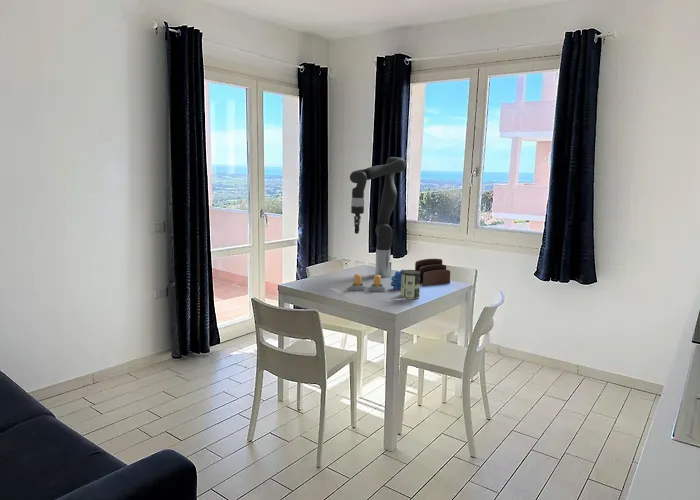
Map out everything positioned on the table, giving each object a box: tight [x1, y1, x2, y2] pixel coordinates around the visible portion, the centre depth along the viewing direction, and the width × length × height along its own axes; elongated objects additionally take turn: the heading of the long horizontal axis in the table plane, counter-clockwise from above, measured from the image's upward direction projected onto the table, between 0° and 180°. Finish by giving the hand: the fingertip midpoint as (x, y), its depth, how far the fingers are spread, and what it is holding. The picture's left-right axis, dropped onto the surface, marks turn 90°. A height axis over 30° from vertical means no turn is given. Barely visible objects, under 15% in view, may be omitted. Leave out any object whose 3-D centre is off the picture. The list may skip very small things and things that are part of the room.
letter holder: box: [414, 258, 451, 286], centre depth 312 cm, size 10×20×14 cm, turn 115°
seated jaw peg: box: [373, 274, 382, 287], centre depth 288 cm, size 4×4×8 cm
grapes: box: [390, 269, 404, 290], centre depth 292 cm, size 12×7×12 cm, turn 109°
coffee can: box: [400, 269, 421, 300], centre depth 278 cm, size 10×10×14 cm
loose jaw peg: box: [353, 273, 362, 286], centre depth 289 cm, size 4×4×8 cm
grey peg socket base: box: [348, 282, 386, 293], centre depth 289 cm, size 20×11×4 cm, turn 86°
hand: (356, 232), depth 305 cm, fingers open, 8 cm apart
